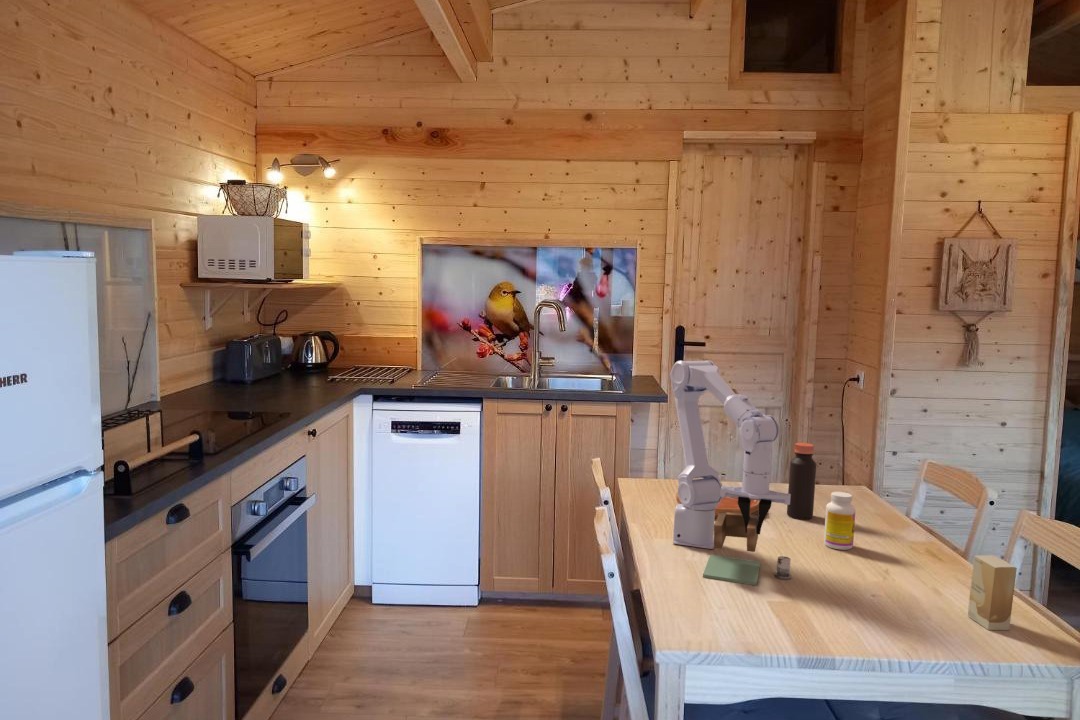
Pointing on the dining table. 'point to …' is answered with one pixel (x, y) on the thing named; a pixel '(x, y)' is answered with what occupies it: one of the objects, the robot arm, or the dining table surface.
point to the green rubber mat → (732, 569)
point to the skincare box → (992, 592)
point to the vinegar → (802, 482)
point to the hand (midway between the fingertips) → (752, 532)
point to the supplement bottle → (839, 522)
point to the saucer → (730, 505)
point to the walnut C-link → (735, 529)
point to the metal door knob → (783, 568)
